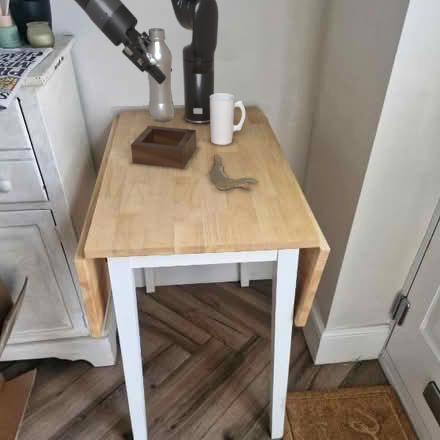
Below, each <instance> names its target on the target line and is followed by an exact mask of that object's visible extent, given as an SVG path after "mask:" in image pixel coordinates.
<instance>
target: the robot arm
mask: <svg viewBox="0 0 440 440" xmlns="http://www.w3.org/2000/svg"><path fill="white" fill-rule="evenodd" d="M73 1H74V2H75V3H76V4H77V5H78V6H79V7H80V8H81V9H82V11H83V12H84V13H85V14H86V15H87V17H88V18H89V19H90V21H91V22H92V23H93V24H94V25H95V26H96V27H97V28H98V29H99V31H101V32H102V34H103V35H104V36H105V37H106V38H107V39H108V40H109V41H110V42H111V43H112V44H113V45H114V46H115V47H119V46H120V45H121V44H122V45H123V46H124V48H122V51H121V53H122V54H123V55H124V56H125V57H126V58H127V59H128V60H129V61H130V62H131V63H132V64H133V65H134V66H135V67H136V68H137V69H138V70H139V71H140V72H142V73H144V72H145V73H147V72H148V73H149V74H150V75H151V76H152V77H153V78H154V79H155V80H156V81H157V82H158V83H159V84H162V83H163V81H164V80H165V79H166V76H165V75H164V74H163V73H162V72H161V70H160V69H159V68H158V67H157V66H156V65H154V63H153V61H152V60H151V59H150V57H149V51H148V50H147V46H148V45H149V43H150V40H149V34H148V33H147V32H146V31H142V33H140V32H139V31H138V30H137V29H136V26H137V25H138V18H137V17H136V16H135V15H134V14H133V13H132V12H131V11H130V9H129V8H128V7H127V6H126V4H125V3H123V1H122V0H73ZM170 2H171V5H172V10H173V13H174V16H175V19H176V21H177V22H178V24H179V26H180V27H182V28H183V29H185V30H188V31H191V33H192V34H191V42H190V44H187V45H185V46H183V48H182V71H183V72H182V75H183V100H184V102H183V103H184V120H185V121H186V122H187V123H188V122H189V123H191V124H208V123H210V96H211V95H212V94H215V52H216V50H217V46H218V36H219V35H218V34H219V33H218V32H219V6H218V3H217V0H170ZM153 65H154V66H153ZM172 72H173V68H172V67H171V73H172ZM148 73H147V74H148Z"/></svg>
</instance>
